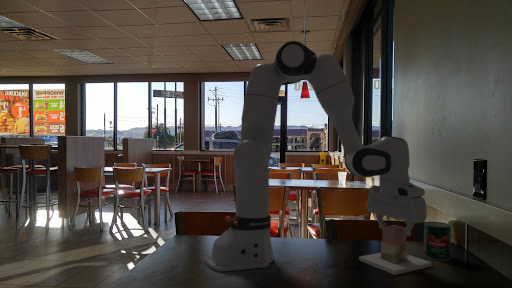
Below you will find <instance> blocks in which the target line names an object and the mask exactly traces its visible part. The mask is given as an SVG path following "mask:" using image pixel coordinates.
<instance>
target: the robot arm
mask: <svg viewBox="0 0 512 288" xmlns="http://www.w3.org/2000/svg"><path fill="white" fill-rule="evenodd" d="M302 80H305V81H307V83H309V84H310V86H311V87H312V90H313V91H314V94H315V96H316V99H317V101H318V103H319V105H320V106H321V108H322V109H323V111H324V112H325V114H326V115H327V117H328V118H329V120H330V122H331V123H332V125H333V127H334V129H335V131H336V133H337V136H338V138H339V141H340V143H341V146H342V148H343V153H344V156H343V157H344V158H343V161H344V162H343V163H344V166H345V168H346V170H347V171H348V172H349V174H351V175H353V176H356V177H363V178H372V177H376V176H377V177H379V180H378V181H379V182H378V183H379V185H376V184H375V185H372V186H370V187H369V189H368V195H367V200H366V201H367V203H366V204H367V205H366V208H367V209H366V210H367V211H368V213H372V214H374V215H375V218H376V221H377V222H378V228H379V229H381V230H382V226H387V223H386V222H385V221H384V217H389V218H391V219H396V220H401V221H405V225H406V227H405V228H406V229H403V235H406V237H411V235H412V230H413V228H414V226H415V224H422V223H423V224H424V222H426V220H427V215H428V213H427V203H426V200H425V198H424V196H425V193H426V191H425V189H424V188H422V187H420V186H418V185H415V184H414V183H412V182H411V181H410V179H411V177H410V175H409V170H410V169H409V168H410V163H411V162H410V161H411V160H410V150H409V149H410V148H409V144H408V142H407V140H406V139H404V138H402V137H397V136H390V135H385V136H382V137H381V138H379V139H378V140H376V141H374V142H373V143H370V144H368V145H364V144H363V142H362V141H361V138H360V136H359V134H358V131H357V129H356V127H355V124H354V120H353V108H354V104H355V97H354V92H353V89H352V86H351V84H350V81H349V79H348V77H347V75H346V74H345V71H344V70H343V68H342V67H341V65H340V63H339V62H338V60H336V58H335V57H334V55H331V54H327V53H324V54H320V55H317V53H316V52H315V51H313V50H311V49H310V48H308V47H307V46H306V45H305V44H304V43H303V42H300V41H298V40H297V41H296V40H290V41H286V42H285V43H283V44H281V45H280V46H279V48H278V49H277V50H276V54H275V58H274V61H273V62H271V63H258V64H256V65H254V66H253V68H251V71H250V74H249V77H248V81H247V83H246V89H245V95H244V98H243V99H244V100H243V106H242V111H241V112H242V114H241V129H240V141H239V142H238V144H236V146H235V147H234V150H233V153H232V159H233V162H232V163H233V177H234V186H235V187H234V188H235V215H234V216H233V217H231V216H229V215H227V216H226V217H225V219H224V221H225V223H227V224H230V227H229V228H228V229H226V230H225V231H224V232H223V233H222V234H221V235H220V236H219V237H217V238H216V239H215V240H214V242H213V244H212V248H211V253H210V254H207V255H205V256H204V257H205V258H204V263H205V264H206V266H207V267H209V268H211V269H212V270H214V271H217V272H231V271H240V270H241V271H243V270H249V269H250V270H252V269H261V268H268V267H269V266H270V264H271V263H272V262H273V261H274V260H275V256H274V252H273V247H272V242H271V241H272V239H271V229H272V226H271V225H272V219H271V218H272V217H271V214H270V179H269V178H270V175H269V173H270V172H269V163H270V161H271V156H272V149H273V142H274V141H273V140H274V133H275V125H276V124H275V123H276V118H277V111H278V103H279V98H280V93H281V92H280V91H281V88H282V86H287V85H294V84H297V83H299V82H301V81H302Z"/></svg>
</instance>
